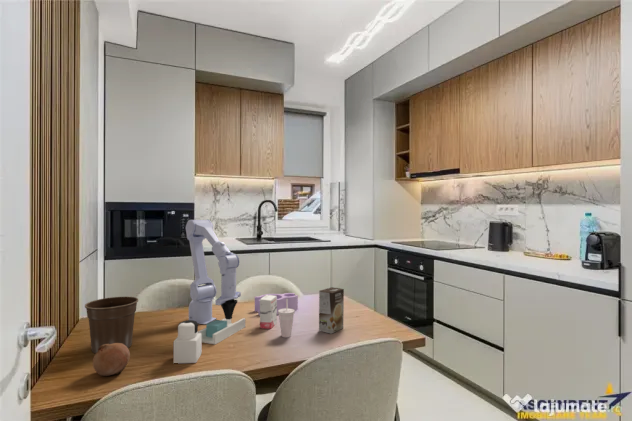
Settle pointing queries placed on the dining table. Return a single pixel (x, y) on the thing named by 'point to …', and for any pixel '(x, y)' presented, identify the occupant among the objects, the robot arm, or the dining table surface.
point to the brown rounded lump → (111, 359)
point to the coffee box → (331, 309)
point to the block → (215, 327)
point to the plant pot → (111, 321)
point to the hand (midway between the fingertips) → (228, 318)
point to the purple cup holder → (280, 301)
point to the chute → (223, 331)
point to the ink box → (268, 311)
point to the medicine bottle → (187, 343)
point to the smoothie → (286, 320)
